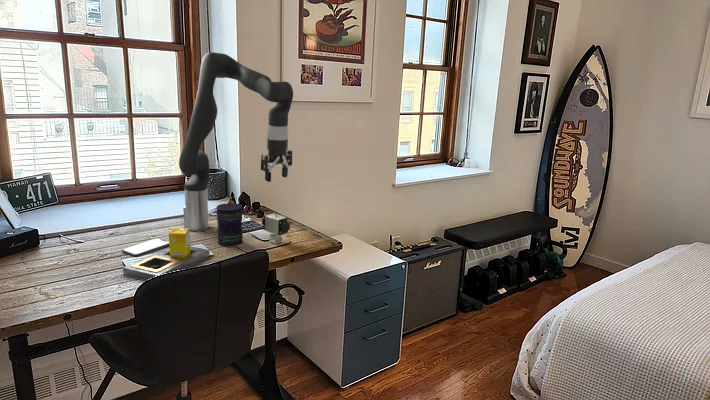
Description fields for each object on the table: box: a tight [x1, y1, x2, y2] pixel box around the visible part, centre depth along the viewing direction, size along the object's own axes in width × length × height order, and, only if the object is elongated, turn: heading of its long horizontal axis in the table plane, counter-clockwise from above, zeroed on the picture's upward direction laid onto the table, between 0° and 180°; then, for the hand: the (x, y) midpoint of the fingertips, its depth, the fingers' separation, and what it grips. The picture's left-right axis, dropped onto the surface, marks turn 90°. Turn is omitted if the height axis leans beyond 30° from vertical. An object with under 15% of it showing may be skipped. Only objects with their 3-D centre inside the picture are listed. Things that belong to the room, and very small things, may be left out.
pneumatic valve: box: [261, 212, 291, 245], centre depth 194 cm, size 6×12×12 cm, turn 53°
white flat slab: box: [121, 238, 169, 258], centre depth 182 cm, size 9×2×16 cm
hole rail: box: [122, 245, 210, 281], centre depth 168 cm, size 14×26×3 cm, turn 159°
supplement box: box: [168, 227, 191, 258], centre depth 172 cm, size 6×6×11 cm
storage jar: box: [216, 202, 244, 248], centre depth 191 cm, size 10×10×15 cm
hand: (276, 179), depth 183 cm, fingers open, 8 cm apart
